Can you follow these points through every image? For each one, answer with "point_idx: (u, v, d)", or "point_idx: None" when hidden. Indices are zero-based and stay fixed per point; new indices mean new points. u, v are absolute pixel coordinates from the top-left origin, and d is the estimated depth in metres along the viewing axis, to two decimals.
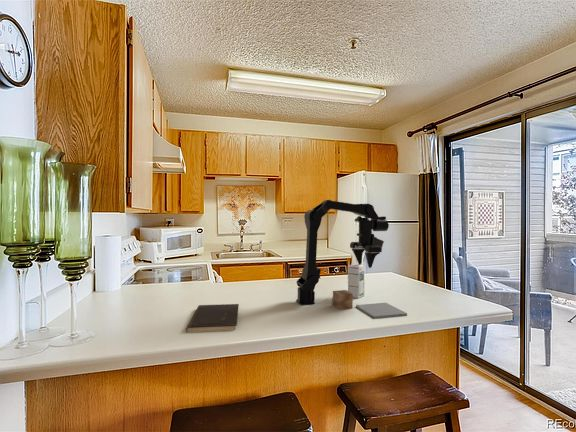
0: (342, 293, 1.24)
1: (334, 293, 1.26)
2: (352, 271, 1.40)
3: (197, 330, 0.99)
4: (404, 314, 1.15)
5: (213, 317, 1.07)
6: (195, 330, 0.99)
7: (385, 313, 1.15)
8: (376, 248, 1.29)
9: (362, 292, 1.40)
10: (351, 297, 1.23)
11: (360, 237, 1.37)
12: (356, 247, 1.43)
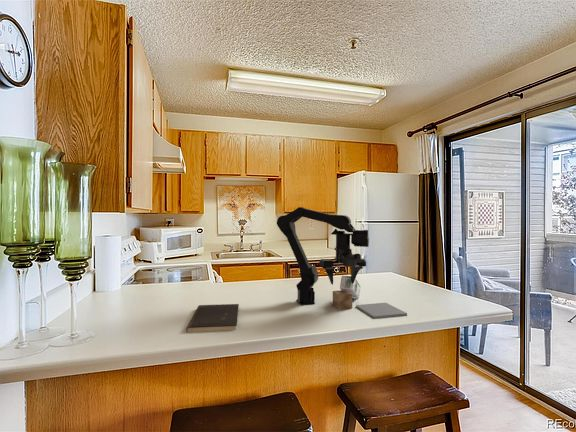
0: (342, 293, 1.23)
1: (334, 293, 1.26)
2: (346, 290, 1.29)
3: (197, 330, 0.99)
4: (404, 314, 1.15)
5: (213, 317, 1.07)
6: (195, 330, 0.99)
7: (385, 313, 1.15)
8: (321, 262, 1.23)
9: (359, 290, 1.37)
10: (351, 297, 1.23)
11: None
12: None
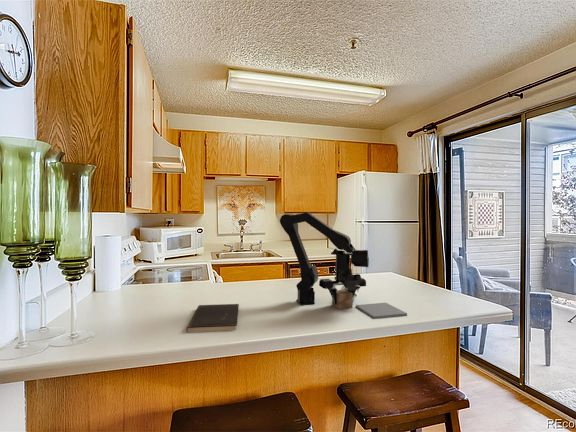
0: (342, 293, 1.24)
1: None
2: None
3: (197, 330, 0.99)
4: (404, 314, 1.15)
5: (213, 317, 1.07)
6: (195, 330, 0.99)
7: (385, 313, 1.15)
8: (321, 283, 1.23)
9: None
10: (351, 296, 1.24)
11: None
12: None
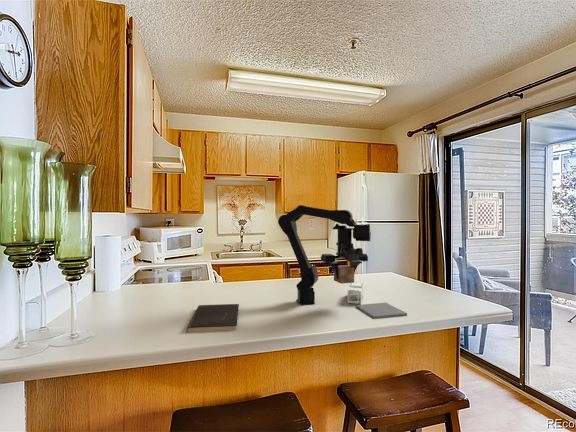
0: (344, 267, 1.24)
1: None
2: None
3: (197, 330, 0.99)
4: (404, 314, 1.15)
5: (213, 317, 1.07)
6: (195, 330, 0.99)
7: (385, 313, 1.15)
8: (323, 257, 1.23)
9: None
10: (353, 271, 1.24)
11: None
12: None
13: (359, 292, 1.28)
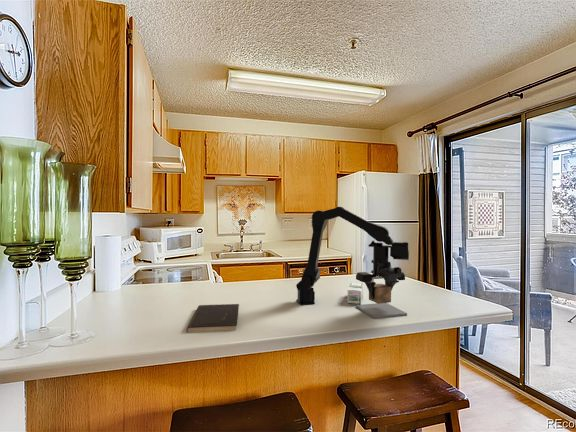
0: (380, 286, 1.18)
1: None
2: None
3: (197, 330, 0.99)
4: (404, 314, 1.15)
5: (214, 317, 1.07)
6: (195, 330, 0.99)
7: (385, 313, 1.15)
8: (359, 276, 1.17)
9: None
10: (390, 290, 1.19)
11: None
12: None
13: (359, 292, 1.28)
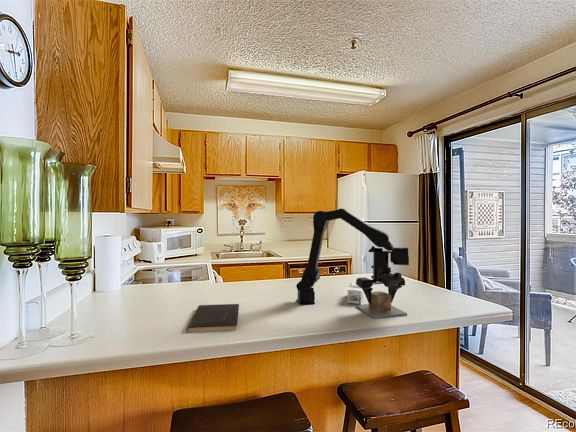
0: (380, 294, 1.18)
1: (371, 295, 1.21)
2: None
3: (197, 330, 0.99)
4: (404, 314, 1.15)
5: (214, 317, 1.07)
6: (195, 330, 0.99)
7: (385, 313, 1.15)
8: (359, 282, 1.17)
9: None
10: (390, 298, 1.18)
11: None
12: None
13: (359, 292, 1.28)
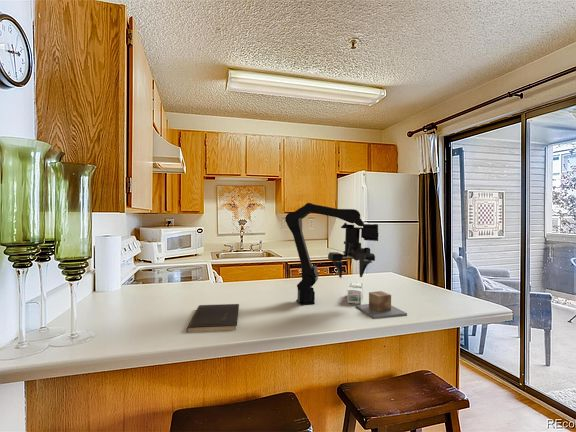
0: (380, 294, 1.18)
1: (371, 295, 1.21)
2: None
3: (197, 330, 0.99)
4: (404, 314, 1.15)
5: (214, 317, 1.07)
6: (195, 330, 0.99)
7: (385, 313, 1.15)
8: (330, 255, 1.23)
9: None
10: (390, 298, 1.18)
11: None
12: None
13: (359, 292, 1.28)
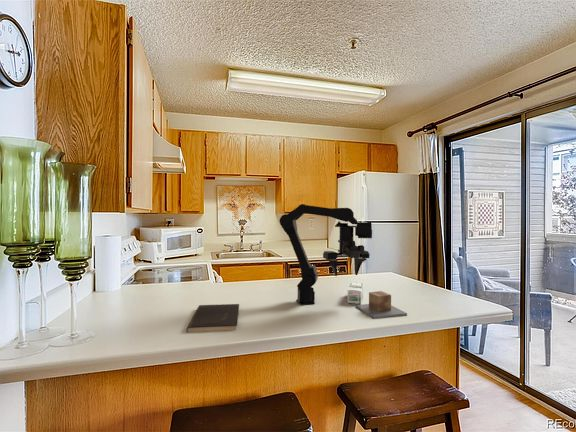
0: (380, 294, 1.18)
1: (371, 295, 1.21)
2: None
3: (198, 330, 0.99)
4: (404, 314, 1.15)
5: (214, 317, 1.07)
6: (196, 330, 0.99)
7: (385, 313, 1.15)
8: (325, 254, 1.24)
9: None
10: (390, 298, 1.18)
11: None
12: None
13: (359, 292, 1.28)
